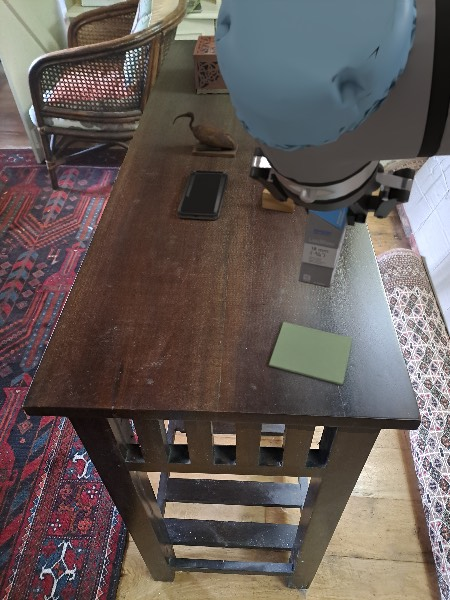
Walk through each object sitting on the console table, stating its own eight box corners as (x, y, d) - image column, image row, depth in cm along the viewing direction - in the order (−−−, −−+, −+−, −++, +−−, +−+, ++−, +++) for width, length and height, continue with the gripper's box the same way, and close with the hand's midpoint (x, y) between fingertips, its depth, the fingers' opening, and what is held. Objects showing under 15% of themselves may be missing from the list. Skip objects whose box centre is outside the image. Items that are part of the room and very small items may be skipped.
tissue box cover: (196, 94, 124) (193, 54, 116) (201, 73, 133) (198, 35, 126) (292, 93, 122) (295, 53, 115) (289, 72, 132) (292, 34, 125)
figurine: (173, 154, 102) (168, 116, 96) (178, 144, 105) (174, 106, 99) (235, 157, 100) (234, 119, 94) (238, 147, 103) (238, 109, 97)
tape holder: (307, 178, 94) (308, 163, 91) (292, 213, 86) (294, 197, 83) (278, 174, 95) (279, 158, 93) (262, 207, 87) (262, 192, 85)
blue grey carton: (330, 290, 51) (350, 196, 42) (296, 282, 52) (308, 189, 43) (344, 242, 57) (364, 150, 48) (313, 235, 58) (327, 145, 49)
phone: (228, 171, 94) (217, 215, 84) (228, 176, 95) (218, 220, 85) (190, 170, 95) (175, 213, 85) (191, 175, 96) (176, 217, 86)
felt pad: (351, 339, 65) (352, 337, 65) (342, 385, 60) (343, 383, 60) (283, 323, 67) (283, 321, 67) (268, 366, 62) (268, 364, 62)
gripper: (197, 182, 33) (258, 228, 56) (442, 224, 29) (401, 256, 52) (219, 78, 33) (271, 168, 55) (472, 106, 29) (417, 190, 51)
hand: (334, 210), depth 54 cm, fingers closed on blue grey carton, 4 cm apart
